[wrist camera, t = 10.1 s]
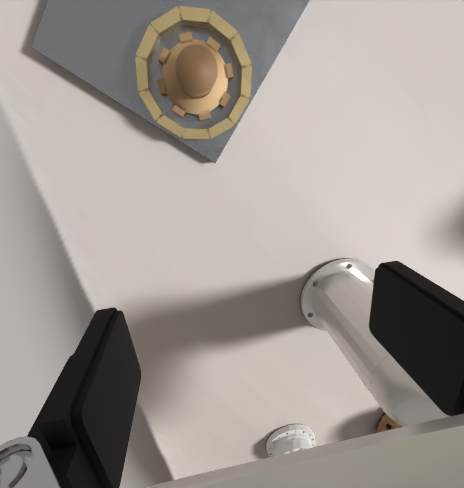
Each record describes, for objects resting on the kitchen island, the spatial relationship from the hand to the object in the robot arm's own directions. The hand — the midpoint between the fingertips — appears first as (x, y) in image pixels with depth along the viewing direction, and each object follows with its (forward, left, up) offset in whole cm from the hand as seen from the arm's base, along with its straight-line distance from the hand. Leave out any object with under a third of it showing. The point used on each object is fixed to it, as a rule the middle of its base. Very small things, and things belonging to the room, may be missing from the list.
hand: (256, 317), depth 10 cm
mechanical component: (-40, +36, -27) cm, 60 cm away
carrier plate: (+11, -14, -26) cm, 32 cm away
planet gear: (+7, -9, -25) cm, 27 cm away
